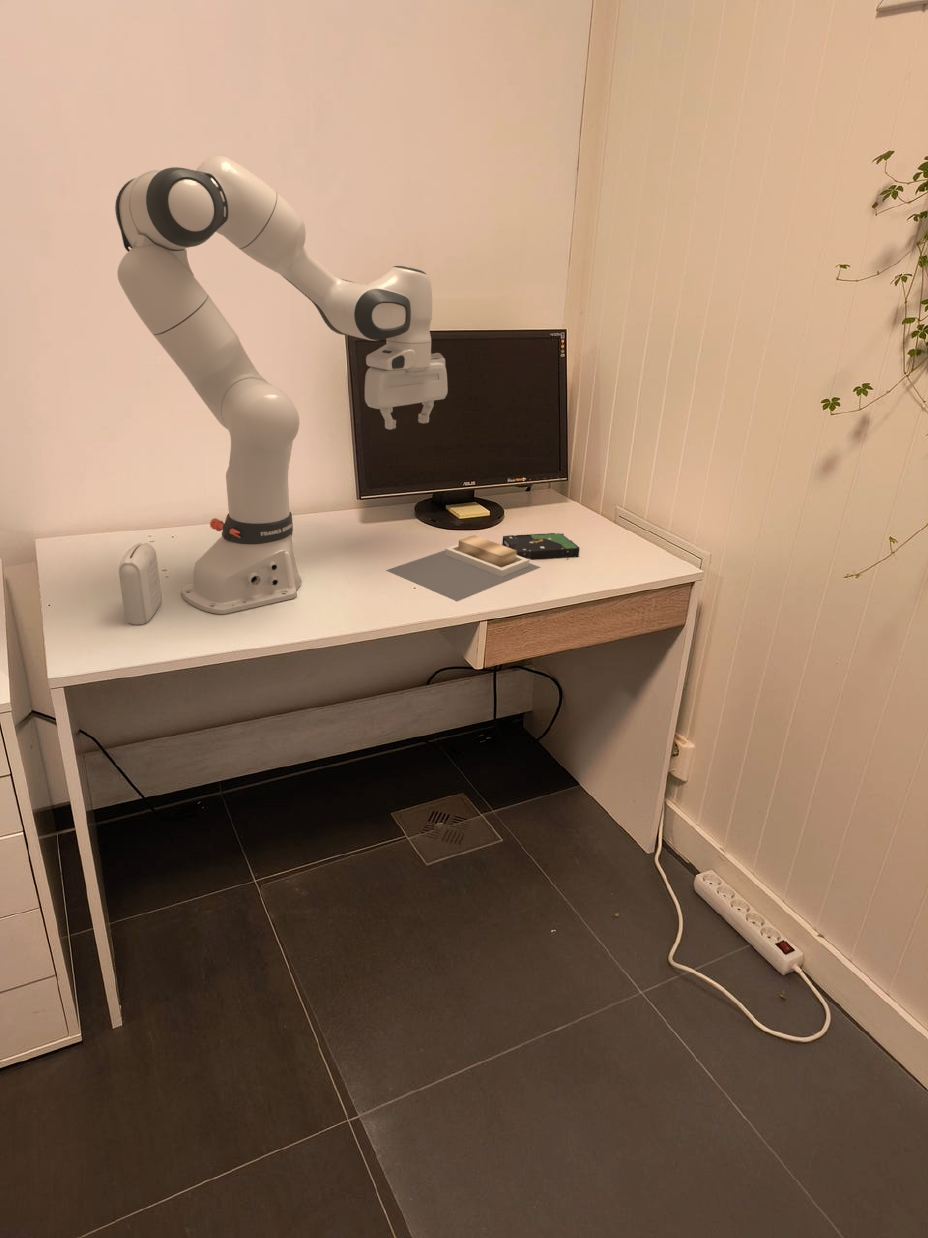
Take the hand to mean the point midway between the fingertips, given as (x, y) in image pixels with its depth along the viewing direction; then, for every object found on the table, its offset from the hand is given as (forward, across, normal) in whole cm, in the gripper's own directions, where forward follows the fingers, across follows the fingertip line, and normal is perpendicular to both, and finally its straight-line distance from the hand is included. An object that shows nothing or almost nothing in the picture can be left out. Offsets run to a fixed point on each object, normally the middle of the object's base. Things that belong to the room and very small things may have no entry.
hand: (407, 425), depth 165 cm
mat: (+27, -1, +17) cm, 32 cm away
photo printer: (+27, +57, -7) cm, 64 cm away
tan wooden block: (+27, -8, +17) cm, 33 cm away
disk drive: (+28, -23, +20) cm, 41 cm away
